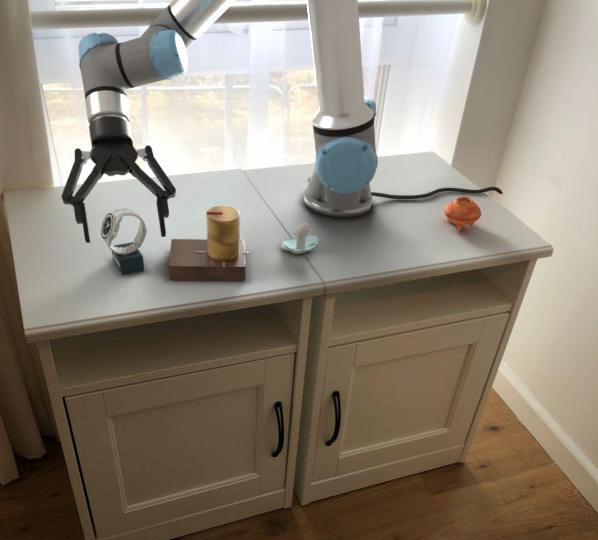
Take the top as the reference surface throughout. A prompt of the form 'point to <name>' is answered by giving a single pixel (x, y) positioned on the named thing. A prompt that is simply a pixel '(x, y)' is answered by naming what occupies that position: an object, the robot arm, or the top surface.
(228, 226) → the dial
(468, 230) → the top surface
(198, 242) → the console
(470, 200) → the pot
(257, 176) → the top surface
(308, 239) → the pacifier
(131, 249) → the watch
